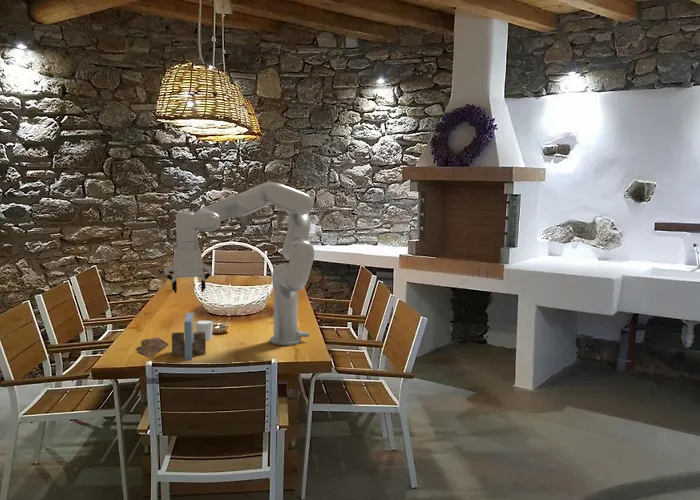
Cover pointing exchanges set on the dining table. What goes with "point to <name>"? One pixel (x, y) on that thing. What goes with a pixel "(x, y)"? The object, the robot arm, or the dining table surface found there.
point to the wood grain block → (197, 345)
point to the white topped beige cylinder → (205, 328)
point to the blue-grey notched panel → (188, 335)
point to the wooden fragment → (151, 346)
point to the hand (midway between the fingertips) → (189, 291)
